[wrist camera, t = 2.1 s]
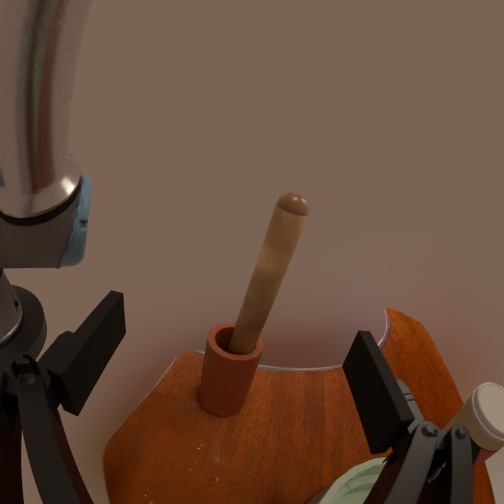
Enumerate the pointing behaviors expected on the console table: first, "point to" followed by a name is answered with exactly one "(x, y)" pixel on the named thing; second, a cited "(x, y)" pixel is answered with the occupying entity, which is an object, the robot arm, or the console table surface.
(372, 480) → the bowl
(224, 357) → the crock
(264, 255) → the stick
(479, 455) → the coffee cup
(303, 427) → the console table surface
